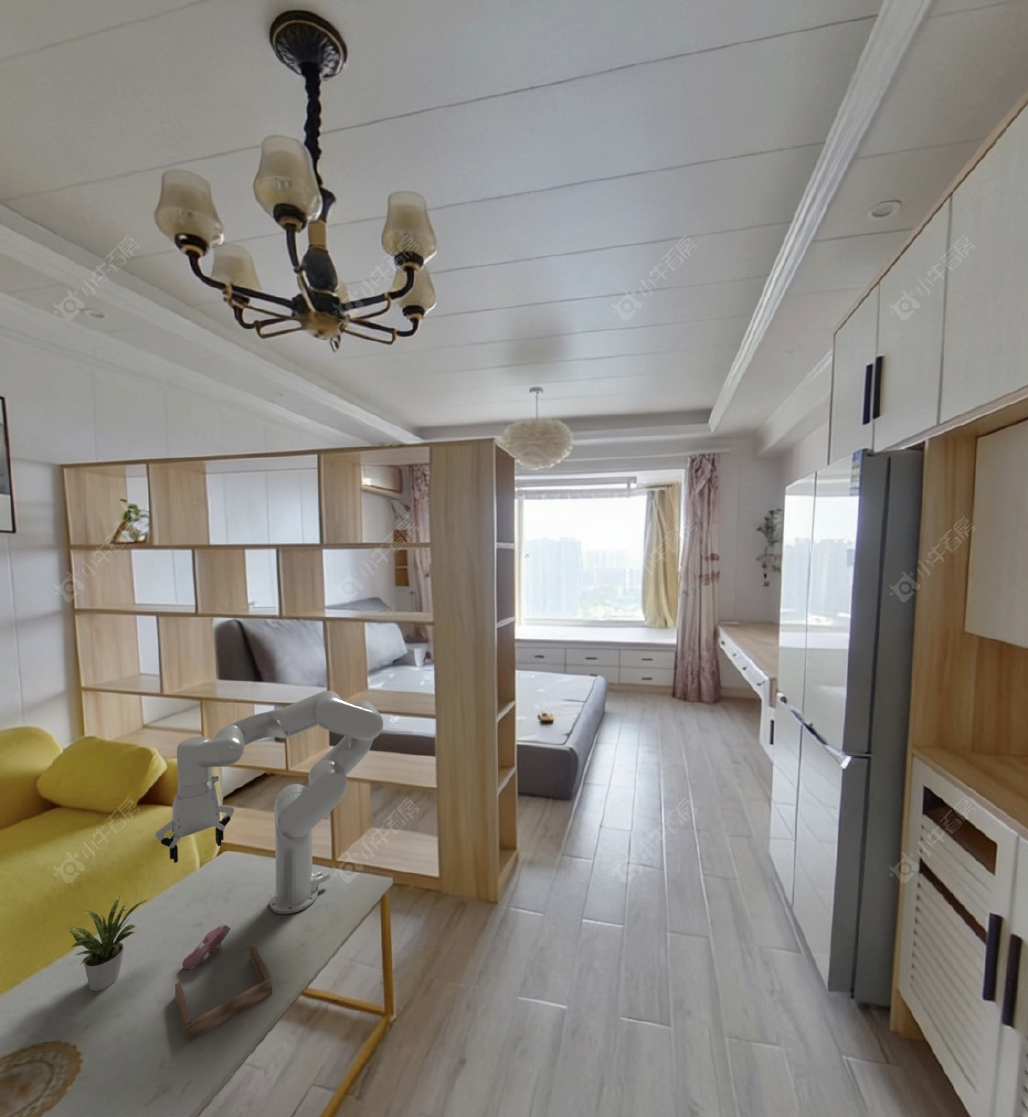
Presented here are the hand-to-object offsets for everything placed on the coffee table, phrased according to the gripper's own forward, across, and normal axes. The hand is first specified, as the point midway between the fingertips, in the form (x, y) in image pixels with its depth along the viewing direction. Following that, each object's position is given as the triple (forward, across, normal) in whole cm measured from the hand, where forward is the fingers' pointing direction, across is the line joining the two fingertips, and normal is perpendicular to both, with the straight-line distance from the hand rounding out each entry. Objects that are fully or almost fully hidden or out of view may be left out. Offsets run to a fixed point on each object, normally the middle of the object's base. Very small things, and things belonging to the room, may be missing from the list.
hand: (197, 852), depth 127 cm
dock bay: (+20, 0, +26) cm, 33 cm away
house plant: (+20, +18, +3) cm, 27 cm away
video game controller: (+20, 0, +11) cm, 23 cm away
